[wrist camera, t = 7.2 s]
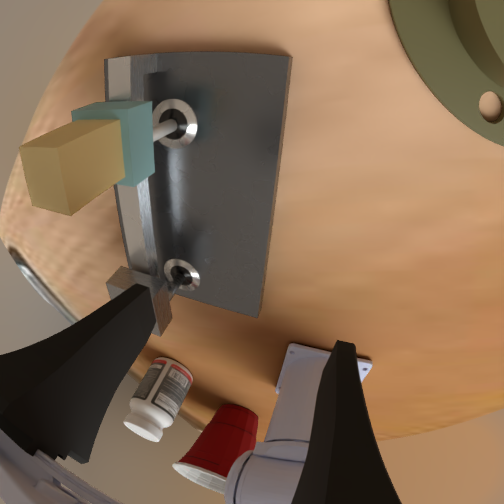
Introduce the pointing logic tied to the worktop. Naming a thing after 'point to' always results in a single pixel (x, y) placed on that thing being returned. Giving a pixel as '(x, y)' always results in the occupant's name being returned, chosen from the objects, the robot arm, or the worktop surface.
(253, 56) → the hole plate
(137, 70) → the rail
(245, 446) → the plastic cup
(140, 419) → the pill bottle
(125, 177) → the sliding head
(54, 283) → the worktop surface
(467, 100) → the flange
